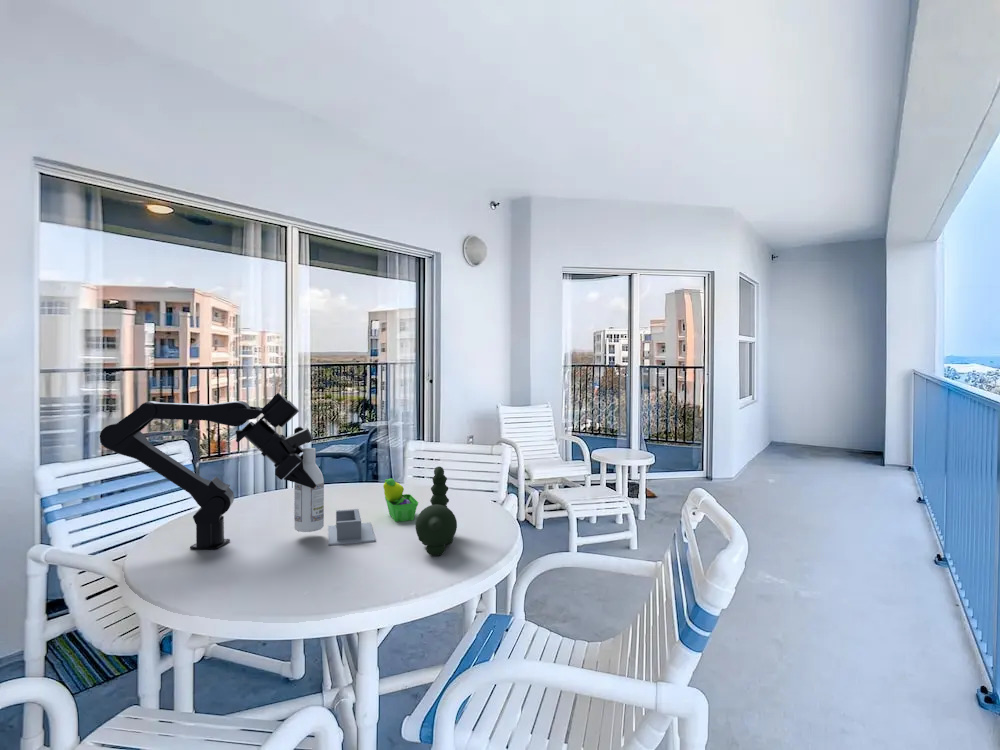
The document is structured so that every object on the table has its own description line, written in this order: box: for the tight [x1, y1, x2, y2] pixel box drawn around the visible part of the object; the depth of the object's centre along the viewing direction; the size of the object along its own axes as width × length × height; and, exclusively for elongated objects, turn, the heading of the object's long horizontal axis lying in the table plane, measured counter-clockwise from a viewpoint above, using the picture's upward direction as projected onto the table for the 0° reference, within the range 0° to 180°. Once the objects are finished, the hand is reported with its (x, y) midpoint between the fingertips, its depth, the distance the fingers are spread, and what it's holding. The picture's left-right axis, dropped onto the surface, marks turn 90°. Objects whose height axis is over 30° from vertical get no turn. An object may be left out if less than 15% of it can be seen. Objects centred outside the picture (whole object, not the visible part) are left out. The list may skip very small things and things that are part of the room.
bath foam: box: [293, 447, 325, 533], centre depth 143 cm, size 7×7×20 cm
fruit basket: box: [383, 477, 419, 523], centre depth 163 cm, size 11×9×11 cm
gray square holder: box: [327, 508, 376, 546], centre depth 147 cm, size 11×16×5 cm
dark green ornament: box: [415, 466, 458, 557], centre depth 137 cm, size 9×19×25 cm
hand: (315, 483), depth 144 cm, fingers closed on bath foam, 7 cm apart
